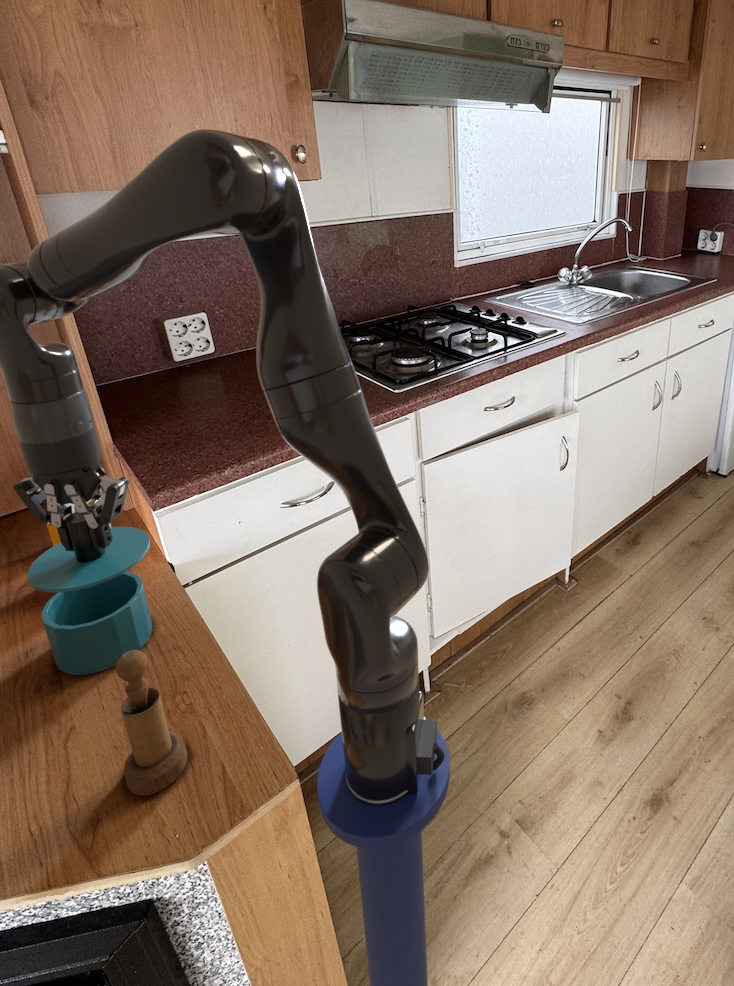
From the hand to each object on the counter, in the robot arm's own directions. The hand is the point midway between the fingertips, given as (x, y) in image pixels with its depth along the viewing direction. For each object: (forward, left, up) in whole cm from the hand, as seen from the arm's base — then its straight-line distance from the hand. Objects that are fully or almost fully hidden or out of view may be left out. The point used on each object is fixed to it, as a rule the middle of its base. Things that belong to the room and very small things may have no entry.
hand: (88, 547), depth 76 cm
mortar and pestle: (-13, +13, -23) cm, 29 cm away
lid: (0, 0, -2) cm, 2 cm away
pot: (+7, -7, -23) cm, 25 cm away
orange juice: (+19, -21, -23) cm, 37 cm away
